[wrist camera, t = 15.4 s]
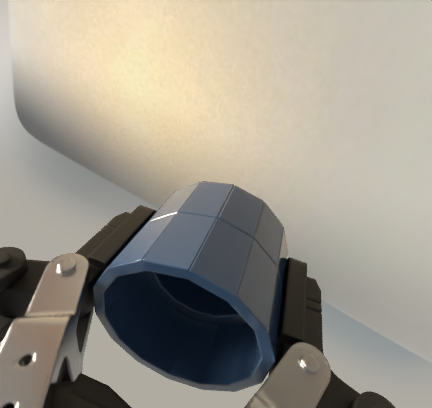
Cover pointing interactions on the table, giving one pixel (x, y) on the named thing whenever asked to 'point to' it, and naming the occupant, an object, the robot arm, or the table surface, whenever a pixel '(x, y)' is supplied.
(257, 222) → the blue faceted tumbler
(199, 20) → the table surface
